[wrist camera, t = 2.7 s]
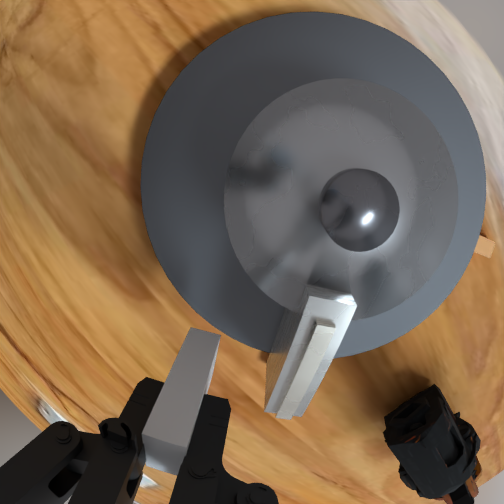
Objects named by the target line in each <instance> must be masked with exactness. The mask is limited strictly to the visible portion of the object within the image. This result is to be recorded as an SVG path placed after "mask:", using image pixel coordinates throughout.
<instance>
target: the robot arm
mask: <svg viewBox="0 0 504 504" xmlns="http://www.w3.org/2000/svg"><path fill="white" fill-rule="evenodd" d="M220 336H221V335H218V334H215V333H211V332H207V331H203V330H199V329H195V328H192V327H191V328H190V330H189V332H188V334H187V336H186V338H185V341H184V343H183V345H182V347H181V349H180V351H179V353H178V355H177V358H176V360H175V362H174V364H173V366H172V368H171V370H170V372H169V375H168V377H167V379H166V381H165V383H163V382H160V381H157V380H154V379H151V378H148V377H146V378H145V379H143V380H142V381H140V382H139V383H138V384H137V386H136V387H135V389H134V391H133V394H132V395H131V396H130V398H129V401H128V402H127V404H126V406H125V407H124V409H123V411H122V413H121V415H120V417H119V418H108V419H106V420H103V421H102V422H101V423H100V424H99V425H98V427H99V430H100V433H101V434H93V433H87V432H81V431H78V430H77V428H76V427H75V426H74V425H72V424H71V423H69V422H65V421H58V422H55V423H53V424H51V425H50V426H49V427H48V428H46V429H45V430H44V431H43V432H42V433H41V434H39V435H38V436H37V437H36V438H35V439H34V440H32V441H31V442H30V443H29V444H27V445H26V446H25V447H24V448H23V449H22V450H20V451H19V452H18V453H17V454H16V455H15V456H13V457H12V458H11V459H10V460H9V461H7V462H6V463H5V464H4V465H3V466H1V467H0V504H64V502H65V501H67V500H68V498H69V497H70V496H71V495H72V496H71V498H70V500H69V502H68V504H133V501H134V498H135V496H136V493H137V490H138V488H139V485H140V482H141V480H142V475H143V472H142V470H143V467H144V465H145V462H146V466H149V467H151V468H154V469H157V470H161V471H164V472H167V473H170V474H174V475H177V479H176V482H175V485H174V489H173V492H172V495H171V499H170V502H169V504H279V503H278V499H277V496H276V494H275V492H274V490H272V489H271V488H270V487H269V486H267V485H264V484H262V483H250V484H247V483H245V482H243V481H240V480H238V479H236V478H234V477H233V476H231V475H230V474H229V473H228V472H226V470H225V469H224V467H223V464H222V455H223V450H224V445H225V439H226V434H227V428H228V423H229V418H230V412H231V408H230V405H229V402H228V399H224V398H220V397H216V396H212V395H208V394H207V392H208V389H209V385H210V382H211V378H212V375H213V370H214V365H215V361H216V356H217V351H218V346H219V341H220Z"/></svg>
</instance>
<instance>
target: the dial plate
mask: <svg viewBox="0 0 504 504" xmlns="http://www.w3.org/2000/svg"><path fill="white" fill-rule="evenodd" d="M334 78H346V79H357V80H363V81H369V82H372V83H375V84H378V85H381V86H384V87H386V88H388V89H390V90H392V91H394V92H396V93H398V94H400V95H402V96H403V97H405V98H406V99H407V100H409V101H410V102H412V103H413V104H414V105H415V106H416V107H418V108H419V109H420V110H421V111H422V112H423V113H424V114H425V115H426V116H427V117H428V119H429V120H430V121H431V122H432V123H433V125H434V126H435V127H436V129H437V130H438V132H439V133H440V135H441V137H442V138H443V140H444V142H445V144H446V146H447V148H448V151H449V153H450V156H451V159H452V162H453V165H454V168H455V173H456V178H457V185H458V214H457V220H456V226H455V230H454V233H453V237H452V240H451V243H450V245H449V248H448V250H447V252H446V254H445V256H444V258H443V260H442V262H441V263H440V265H439V267H438V268H437V270H436V271H435V272H434V274H433V275H432V276H431V278H430V279H429V280H428V281H427V282H426V283H425V284H424V285H423V287H422V288H421V289H419V290H418V291H417V292H416V293H415V294H414V295H413V296H411V297H410V298H409V299H407V300H406V301H404V302H403V303H401V304H400V305H398V306H396V307H394V308H392V309H390V310H388V311H386V312H384V313H381V314H379V315H376V316H373V317H369V318H365V319H361V320H353V321H350V323H349V326H348V328H347V330H346V332H345V335H344V337H343V339H342V341H341V343H340V345H339V347H338V349H337V351H336V354H335V356H334V358H339V357H345V356H351V355H355V354H359V353H362V352H366V351H369V350H372V349H375V348H377V347H380V346H382V345H385V344H387V343H389V342H391V341H393V340H395V339H397V338H398V337H400V336H402V335H404V334H406V333H407V332H409V331H410V330H411V329H413V328H414V327H416V326H417V325H418V324H420V323H421V322H422V321H424V320H425V319H426V318H427V317H428V316H429V315H430V314H431V313H433V312H434V311H435V310H436V309H437V308H438V307H439V306H440V305H441V303H442V302H443V301H444V300H445V299H446V298H447V296H448V295H449V294H450V293H451V292H452V290H453V289H454V287H455V286H456V284H457V283H458V281H459V280H460V278H461V277H462V275H463V273H464V271H465V269H466V267H467V266H468V264H469V262H470V260H471V258H472V255H473V252H476V253H478V254H481V255H483V256H486V257H488V258H490V257H491V254H492V252H493V249H494V246H495V242H493V241H492V240H490V239H488V238H486V237H484V236H481V235H480V231H481V227H482V223H483V218H484V211H485V201H486V173H485V165H484V158H483V152H482V148H481V144H480V141H479V137H478V133H477V131H476V128H475V125H474V123H473V120H472V118H471V116H470V113H469V111H468V109H467V107H466V106H465V104H464V102H463V100H462V98H461V97H460V95H459V93H458V92H457V90H456V89H455V87H454V86H453V85H452V83H451V82H450V81H449V79H448V78H447V77H446V75H445V74H444V73H443V72H442V71H441V70H440V69H439V68H438V67H437V66H436V65H435V64H434V63H433V62H432V61H431V60H430V59H429V58H428V57H427V56H426V55H425V54H424V53H422V52H421V51H420V50H419V49H417V48H416V47H415V46H414V45H412V44H411V43H410V42H408V41H406V40H405V39H403V38H401V37H400V36H398V35H396V34H395V33H393V32H391V31H389V30H387V29H385V28H383V27H380V26H378V25H375V24H373V23H371V22H368V21H365V20H362V19H358V18H354V17H350V16H346V15H342V14H334V13H325V12H296V13H287V14H282V15H276V16H271V17H267V18H264V19H261V20H258V21H255V22H252V23H249V24H246V25H244V26H242V27H240V28H238V29H236V30H234V31H232V32H230V33H228V34H226V35H224V36H223V37H221V38H219V39H218V40H216V41H215V42H214V43H212V44H211V45H210V46H208V47H207V48H206V49H204V50H203V51H202V52H200V53H199V54H198V55H197V56H196V57H195V58H194V59H193V60H192V61H191V62H190V63H189V64H188V65H187V66H186V67H185V68H184V69H183V70H182V71H181V73H180V74H179V75H178V77H177V78H176V79H175V81H174V82H173V84H172V85H171V86H170V88H169V89H168V90H167V92H166V94H165V96H164V98H163V99H162V101H161V103H160V105H159V107H158V109H157V111H156V113H155V115H154V118H153V121H152V124H151V126H150V129H149V132H148V135H147V139H146V143H145V148H144V153H143V159H142V169H141V197H142V208H143V214H144V219H145V223H146V227H147V232H148V235H149V238H150V241H151V243H152V246H153V249H154V251H155V254H156V257H157V258H158V260H159V262H160V264H161V266H162V268H163V270H164V272H165V273H166V275H167V277H168V278H169V280H170V281H171V283H172V284H173V285H174V287H175V288H176V290H177V291H178V292H179V294H180V295H181V296H182V297H183V298H184V300H185V301H186V302H187V303H188V304H189V305H190V306H191V307H192V308H193V309H194V310H195V311H196V312H197V313H198V314H199V315H200V316H202V317H203V318H204V319H205V320H206V321H208V322H209V323H210V324H211V325H213V326H214V327H215V328H217V329H219V330H220V331H222V332H223V333H225V334H226V335H228V336H230V337H231V338H233V339H235V340H237V341H239V342H241V343H244V344H246V345H248V346H250V347H253V348H256V349H258V350H262V351H265V352H268V353H270V351H271V348H272V345H273V343H274V340H275V337H276V334H277V331H278V328H279V325H280V322H281V319H282V316H283V312H284V309H285V307H284V306H282V305H280V304H278V303H277V302H276V301H274V300H273V299H272V298H270V297H269V296H268V295H266V294H265V293H264V292H263V291H262V290H261V289H260V288H259V287H258V286H257V285H256V284H255V283H254V282H253V281H252V279H251V278H250V277H249V275H248V274H247V273H246V272H245V270H244V268H243V267H242V265H241V263H240V262H239V260H238V258H237V256H236V254H235V252H234V249H233V247H232V244H231V242H230V238H229V235H228V231H227V227H226V221H225V214H224V188H225V181H226V174H227V171H228V167H229V164H230V160H231V157H232V155H233V153H234V150H235V148H236V146H237V144H238V141H239V140H240V138H241V137H242V135H243V133H244V132H245V130H246V129H247V127H248V126H249V125H250V123H251V122H252V121H253V120H254V119H255V118H256V116H257V115H258V114H259V113H260V112H261V111H262V110H263V109H264V108H266V107H267V106H268V105H269V104H270V103H271V102H273V101H274V100H276V99H277V98H279V97H280V96H282V95H283V94H285V93H286V92H288V91H291V90H293V89H295V88H297V87H299V86H302V85H304V84H308V83H312V82H315V81H319V80H326V79H334Z"/></svg>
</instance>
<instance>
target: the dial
mask: <svg viewBox="0 0 504 504" xmlns="http://www.w3.org/2000/svg"><path fill="white" fill-rule="evenodd" d="M224 214H225V221H226V227H227V231H228V235H229V238H230V242H231V244H232V247H233V249H234V252H235V254H236V256H237V258H238V260H239V262H240V263H241V265H242V267H243V268H244V270H245V272H246V273H247V274H248V275H249V277H250V278H251V279H252V281H253V282H254V283H255V284H256V285H257V286H258V287H259V288H260V289H261V290H262V291H263V292H264V293H265V294H266V295H268V296H269V297H270V298H272V299H273V300H274V301H276V302H277V303H278V304H280V305H282V306H284V307H285V309H284V312H283V316H282V319H281V322H280V325H279V328H278V331H277V334H276V337H275V340H274V343H273V345H272V348H271V351H270V354H269V357H268V360H267V364H266V386H265V406H264V412H270V413H276V418H282V419H289V420H291V418H292V417H293V416H300V417H302V415H303V413H304V412H305V410H306V408H307V407H308V405H309V403H310V401H311V399H312V398H313V396H314V394H315V392H316V390H317V389H318V387H319V385H320V383H321V381H322V379H323V377H324V375H325V373H326V372H327V370H328V368H329V366H330V364H331V362H332V360H333V358H334V356H335V354H336V351H337V349H338V347H339V345H340V343H341V341H342V339H343V337H344V335H345V332H346V330H347V328H348V326H349V323H350V321H353V320H361V319H365V318H369V317H373V316H376V315H379V314H381V313H384V312H386V311H388V310H390V309H392V308H394V307H396V306H398V305H400V304H401V303H403V302H404V301H406V300H407V299H409V298H410V297H411V296H413V295H414V294H415V293H416V292H417V291H418V290H419V289H421V288H422V287H423V285H424V284H425V283H426V282H427V281H428V280H429V279H430V278H431V276H432V275H433V274H434V272H435V271H436V270H437V268H438V267H439V265H440V263H441V262H442V260H443V258H444V256H445V254H446V252H447V250H448V248H449V245H450V243H451V240H452V237H453V233H454V230H455V226H456V220H457V214H458V185H457V178H456V173H455V168H454V165H453V162H452V159H451V156H450V153H449V151H448V148H447V146H446V144H445V142H444V140H443V138H442V137H441V135H440V133H439V132H438V130H437V129H436V127H435V126H434V125H433V123H432V122H431V121H430V120H429V119H428V117H427V116H426V115H425V114H424V113H423V112H422V111H421V110H420V109H419V108H418V107H416V106H415V105H414V104H413V103H412V102H410V101H409V100H407V99H406V98H405V97H403V96H402V95H400V94H398V93H396V92H394V91H392V90H390V89H388V88H386V87H384V86H381V85H378V84H375V83H372V82H369V81H363V80H357V79H346V78H334V79H326V80H319V81H315V82H312V83H308V84H304V85H302V86H299V87H297V88H295V89H293V90H291V91H288V92H286V93H285V94H283V95H282V96H280V97H279V98H277V99H276V100H274V101H273V102H271V103H270V104H269V105H268V106H267V107H266V108H264V109H263V110H262V111H261V112H260V113H259V114H258V115H257V116H256V118H255V119H254V120H253V121H252V122H251V123H250V125H249V126H248V127H247V129H246V130H245V132H244V133H243V135H242V137H241V138H240V140H239V141H238V144H237V146H236V148H235V150H234V153H233V155H232V157H231V160H230V164H229V167H228V171H227V174H226V181H225V188H224Z"/></svg>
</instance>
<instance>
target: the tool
mask: <svg viewBox="0 0 504 504" xmlns="http://www.w3.org/2000/svg"><path fill="white" fill-rule="evenodd" d="M384 418H385V424H386V430H385V431H384V432H383V434H384V437H385V439H386V440H385V442H387V445H388V447H389V448H390V449H391V451H392V452H393V454H394V455H395V456H396V458H397V459H398V460H399V462H400V466H399V467H400V468H399V471H398V472H399V473H400V478H401V480H402V481H403V482H404V483H405V485H406V486H407V487H409V488H410V489H412V490H416V491H417V493H418V495H419V496H420V497H425V498H428V499H435V500H444V501H445V502H446V503H447V504H474V497H476V496H477V495H478V493H479V492H478V487H477V485H476V483H475V482H476V481H477V480H478V479H479V478H480V476H481V474H482V468H481V465H480V463H479V461H478V458H477V456H476V454H477V452H478V451H479V449H480V441H481V440H480V439H479V437H478V435H477V433H476V432H475V430H474V428H473V427H472V425H471V424H469V423H468V422H466V421H464V420H463V419H461V418H460V412H458V413H456V414H453V412H452V410H451V409H450V407H449V405H448V403H447V401H446V399H445V397H444V396H443V394H442V392H441V390H440V389H439V388H438V387H437V386H436V385H435V384H433V385H432V386H430V387H429V388H428V389H426V390H425V391H422V392H420V393H419V394H417V395H416V396H414V397H413V398H411V399H409V400H408V401H406V402H405V403H403V404H402V405H400V406H399V407H398V408H397V409H396V410H394V411H393V412H391V413H390V414H388V415H387V416H385V417H384Z"/></svg>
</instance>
